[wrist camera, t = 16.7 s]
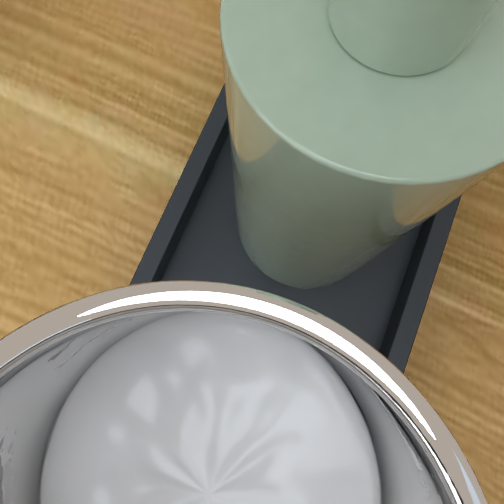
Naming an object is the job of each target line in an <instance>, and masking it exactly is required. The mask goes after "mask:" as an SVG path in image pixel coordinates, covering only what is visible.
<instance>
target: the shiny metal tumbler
mask: <svg viewBox="0 0 504 504" xmlns="http://www.w3.org/2000/svg"><path fill="white" fill-rule="evenodd" d="M0 504H488V502H487V499H486V497H485V495H484V492H483V490H482V488H481V486H480V484H479V481H478V479H477V477H476V475H475V473H474V471H473V469H472V467H471V465H470V463H469V462H468V460H467V458H466V456H465V454H464V453H463V451H462V449H461V448H460V446H459V444H458V442H457V441H456V439H455V438H454V436H453V435H452V433H451V432H450V430H449V429H448V427H447V426H446V424H445V423H444V422H443V420H442V419H441V417H440V416H439V414H438V413H437V412H436V411H435V409H434V408H433V407H432V405H431V404H430V403H429V402H428V400H427V399H426V398H425V397H424V396H423V395H422V393H421V392H420V391H419V390H418V389H417V388H416V387H415V385H414V384H413V383H412V382H411V381H410V380H409V379H408V378H407V377H406V376H405V375H404V374H403V373H402V372H401V371H400V370H399V369H398V368H397V367H396V366H395V365H394V364H393V363H392V362H390V361H389V360H388V359H387V358H386V357H385V356H384V355H383V354H381V353H380V352H379V351H378V350H376V349H375V348H374V347H373V346H371V345H370V344H369V343H367V342H366V341H365V340H363V339H362V338H361V337H359V336H358V335H356V334H355V333H353V332H352V331H350V330H349V329H347V328H346V327H344V326H342V325H341V324H339V323H337V322H336V321H334V320H332V319H330V318H329V317H327V316H325V315H323V314H321V313H319V312H317V311H315V310H313V309H311V308H309V307H306V306H304V305H302V304H299V303H297V302H295V301H292V300H289V299H287V298H284V297H281V296H278V295H275V294H272V293H268V292H265V291H261V290H258V289H254V288H250V287H245V286H240V285H234V284H228V283H221V282H211V281H196V280H173V281H157V282H147V283H140V284H133V285H128V286H123V287H118V288H114V289H110V290H106V291H102V292H99V293H95V294H92V295H89V296H86V297H83V298H80V299H77V300H75V301H72V302H69V303H67V304H64V305H62V306H59V307H57V308H55V309H53V310H51V311H48V312H46V313H44V314H42V315H40V316H38V317H36V318H34V319H33V320H31V321H29V322H27V323H26V324H24V325H22V326H20V327H19V328H17V329H15V330H14V331H12V332H11V333H9V334H7V335H6V336H4V337H3V338H1V339H0Z"/></svg>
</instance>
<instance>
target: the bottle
mask: <svg viewBox="0 0 504 504" xmlns="http://www.w3.org/2000/svg"><path fill="white" fill-rule="evenodd" d="M219 19H220V35H221V46H222V58H223V69H224V80H225V91H226V103H227V114H228V125H229V136H230V148H231V159H232V170H233V181H234V193H235V204H236V215H237V226H238V232H239V237H240V240H241V243H242V246H243V248H244V250H245V252H246V254H247V255H248V257H249V258H250V260H251V261H252V262H253V263H254V264H255V265H256V267H257V268H258V269H259V270H261V271H262V272H263V273H264V274H265V275H267V276H268V277H270V278H272V279H273V280H275V281H277V282H279V283H281V284H284V285H288V286H291V287H296V288H304V289H314V288H322V287H327V286H330V285H333V284H336V283H338V282H340V281H342V280H344V279H345V278H347V277H348V276H350V275H351V274H353V273H354V272H355V271H357V270H358V269H360V268H361V267H362V266H364V265H365V264H367V263H368V262H369V261H371V260H372V259H373V258H375V257H376V256H378V255H379V254H380V253H382V252H383V251H384V250H386V249H387V248H389V247H390V246H391V245H393V244H394V243H395V242H397V241H398V240H400V239H401V238H402V237H404V236H405V235H406V234H408V233H409V232H411V231H412V230H413V229H415V228H416V227H418V226H419V225H420V224H422V223H423V222H424V221H426V220H427V219H429V218H430V217H431V216H433V215H434V214H435V213H437V212H438V211H440V210H441V209H442V208H444V207H445V206H446V205H448V204H449V203H451V202H452V201H453V200H455V199H456V198H458V197H459V196H460V195H462V194H463V193H464V192H466V191H467V190H469V189H470V188H471V187H473V186H474V185H475V184H477V183H478V182H480V181H481V180H482V179H484V178H485V177H486V176H488V175H489V174H491V173H492V172H493V171H495V170H496V169H497V168H499V167H500V166H502V165H503V164H504V0H221V3H220V14H219Z"/></svg>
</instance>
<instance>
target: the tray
mask: <svg viewBox="0 0 504 504" xmlns="http://www.w3.org/2000/svg"><path fill="white" fill-rule="evenodd" d="M460 198H461V195H460V196H459V197H458V198H456V199H455V200H453V201H452V202H451V203H449V204H448V205H446V206H445V207H444V208H442V209H441V210H440V211H438V212H437V213H435V214H434V215H433V216H431V217H430V218H429V219H427V220H426V221H424V222H423V223H422V224H420V225H419V226H418V227H416V228H415V229H413V230H412V231H411V232H409V233H408V234H406V235H405V236H404V237H402V238H401V239H400V240H398V241H397V242H395V243H394V244H393V245H391V246H390V247H389V248H387V249H386V250H384V251H383V252H382V253H380V254H379V255H378V256H376V257H375V258H373V259H372V260H371V261H369V262H368V263H367V264H365V265H364V266H362V267H361V268H360V269H358V270H357V271H355V272H354V273H353V274H351V275H350V276H348V277H347V278H345V279H344V280H342V281H340V282H338V283H336V284H333V285H330V286H327V287H322V288H314V289H304V288H296V287H291V286H288V285H284V284H281V283H279V282H277V281H275V280H273V279H272V278H270V277H268V276H267V275H265V274H264V273H263V272H262V271H261V270H259V269H258V268H257V267H256V265H255V264H254V263H253V262H252V261H251V260H250V258H249V257H248V255H247V254H246V252H245V250H244V248H243V246H242V243H241V240H240V237H239V232H238V226H237V215H236V204H235V193H234V181H233V170H232V159H231V148H230V136H229V125H228V114H227V103H226V91H225V83H224V86H223V88H222V90H221V92H220V94H219V96H218V98H217V100H216V103H215V105H214V107H213V109H212V111H211V113H210V115H209V117H208V120H207V122H206V124H205V126H204V128H203V130H202V132H201V134H200V136H199V139H198V141H197V143H196V145H195V147H194V149H193V151H192V153H191V156H190V158H189V160H188V162H187V164H186V166H185V168H184V170H183V172H182V175H181V177H180V179H179V181H178V183H177V185H176V187H175V189H174V192H173V194H172V196H171V198H170V200H169V202H168V204H167V206H166V209H165V211H164V213H163V215H162V217H161V219H160V221H159V223H158V225H157V228H156V230H155V232H154V234H153V236H152V238H151V240H150V242H149V245H148V247H147V249H146V251H145V253H144V255H143V257H142V259H141V262H140V264H139V266H138V268H137V270H136V272H135V274H134V276H133V278H132V281H131V283H130V285H133V284H140V283H147V282H157V281H173V280H196V281H211V282H221V283H228V284H234V285H240V286H245V287H250V288H254V289H258V290H261V291H265V292H268V293H272V294H275V295H278V296H281V297H284V298H287V299H289V300H292V301H295V302H297V303H299V304H302V305H304V306H306V307H309V308H311V309H313V310H315V311H317V312H319V313H321V314H323V315H325V316H327V317H329V318H330V319H332V320H334V321H336V322H337V323H339V324H341V325H342V326H344V327H346V328H347V329H349V330H350V331H352V332H353V333H355V334H356V335H358V336H359V337H361V338H362V339H363V340H365V341H366V342H367V343H369V344H370V345H371V346H373V347H374V348H375V349H376V350H378V351H379V352H380V353H381V354H383V355H384V356H385V357H386V358H387V359H388V360H389V361H390V362H392V363H393V364H394V365H395V366H396V367H397V368H398V369H399V370H400V371H401V372H402V373H404V370H405V367H406V364H407V361H408V358H409V355H410V352H411V349H412V346H413V343H414V339H415V336H416V333H417V330H418V327H419V324H420V321H421V318H422V315H423V312H424V309H425V306H426V303H427V299H428V296H429V293H430V290H431V287H432V284H433V281H434V278H435V275H436V272H437V269H438V266H439V263H440V259H441V256H442V253H443V250H444V247H445V244H446V241H447V238H448V235H449V232H450V229H451V226H452V223H453V219H454V216H455V213H456V210H457V207H458V204H459V201H460Z"/></svg>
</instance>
